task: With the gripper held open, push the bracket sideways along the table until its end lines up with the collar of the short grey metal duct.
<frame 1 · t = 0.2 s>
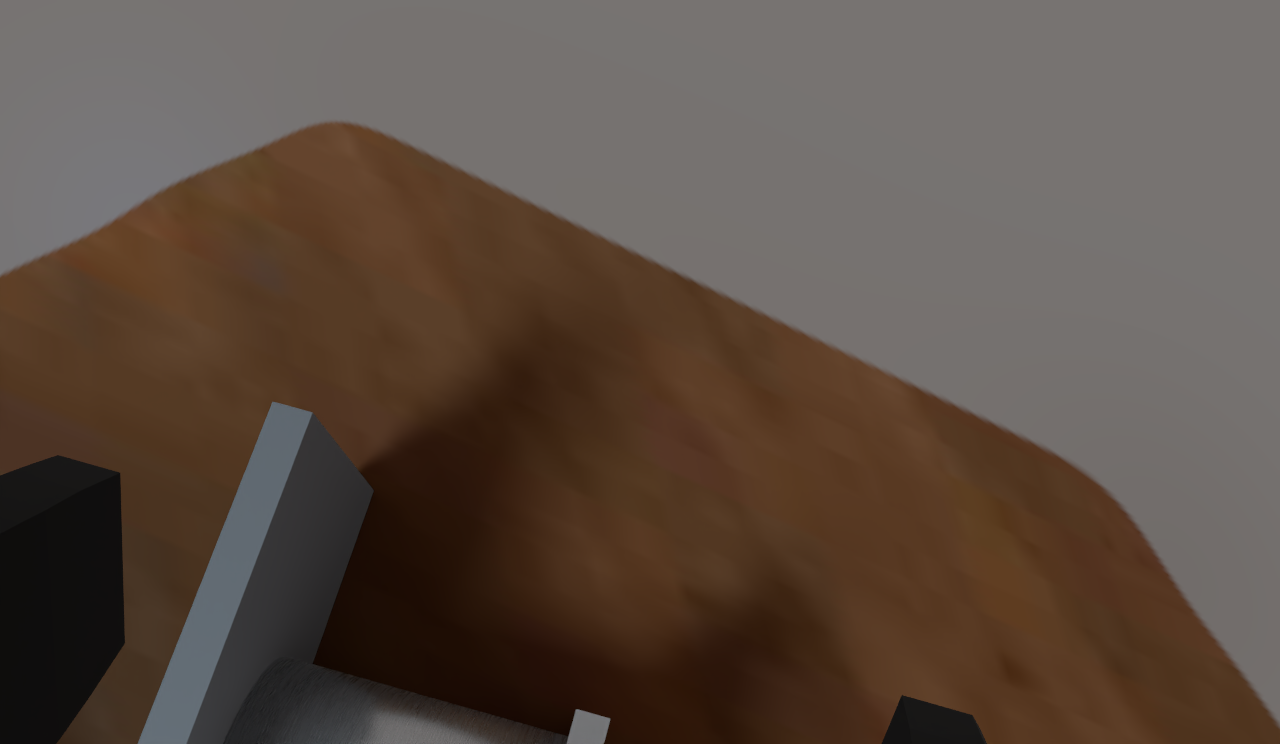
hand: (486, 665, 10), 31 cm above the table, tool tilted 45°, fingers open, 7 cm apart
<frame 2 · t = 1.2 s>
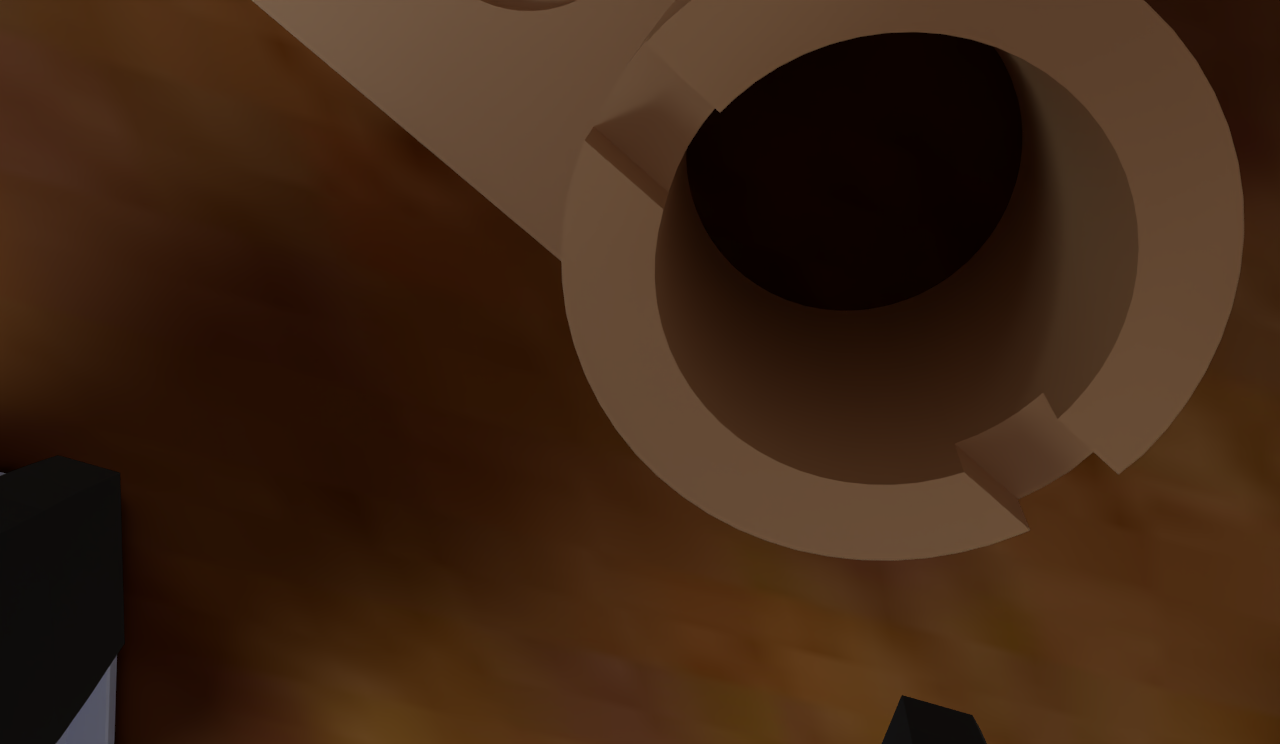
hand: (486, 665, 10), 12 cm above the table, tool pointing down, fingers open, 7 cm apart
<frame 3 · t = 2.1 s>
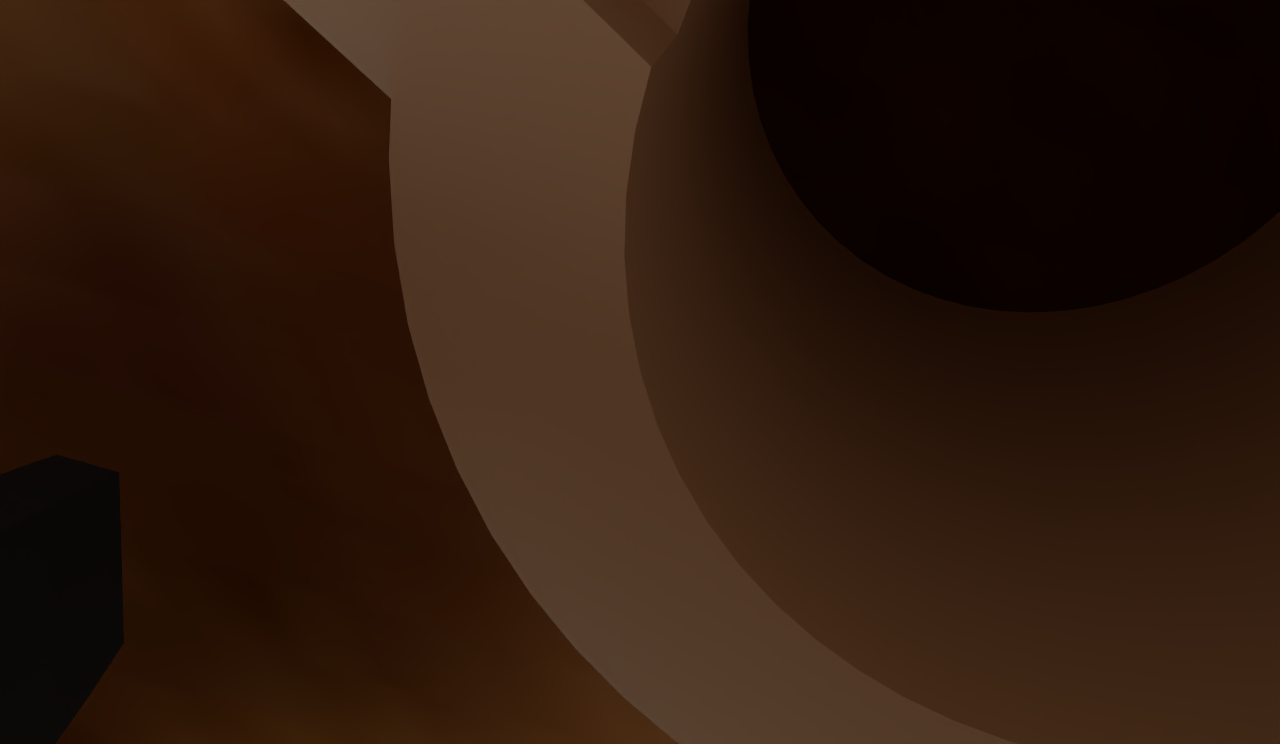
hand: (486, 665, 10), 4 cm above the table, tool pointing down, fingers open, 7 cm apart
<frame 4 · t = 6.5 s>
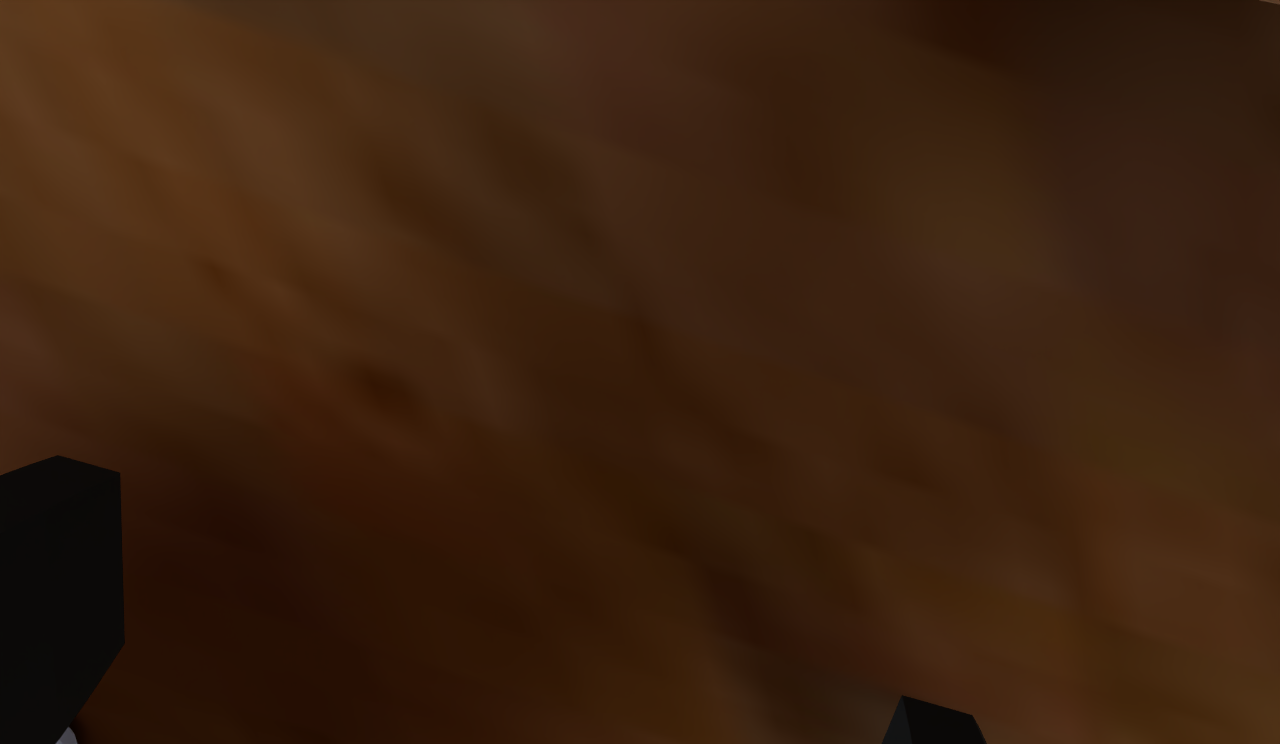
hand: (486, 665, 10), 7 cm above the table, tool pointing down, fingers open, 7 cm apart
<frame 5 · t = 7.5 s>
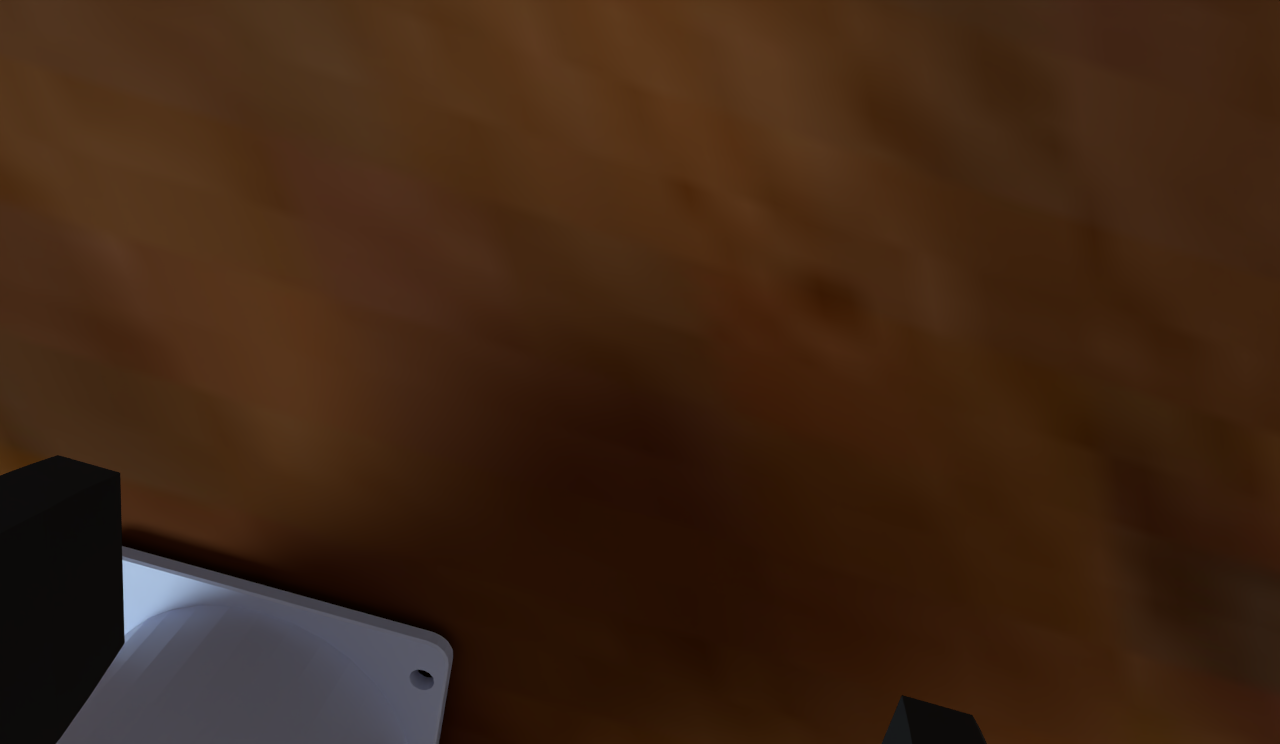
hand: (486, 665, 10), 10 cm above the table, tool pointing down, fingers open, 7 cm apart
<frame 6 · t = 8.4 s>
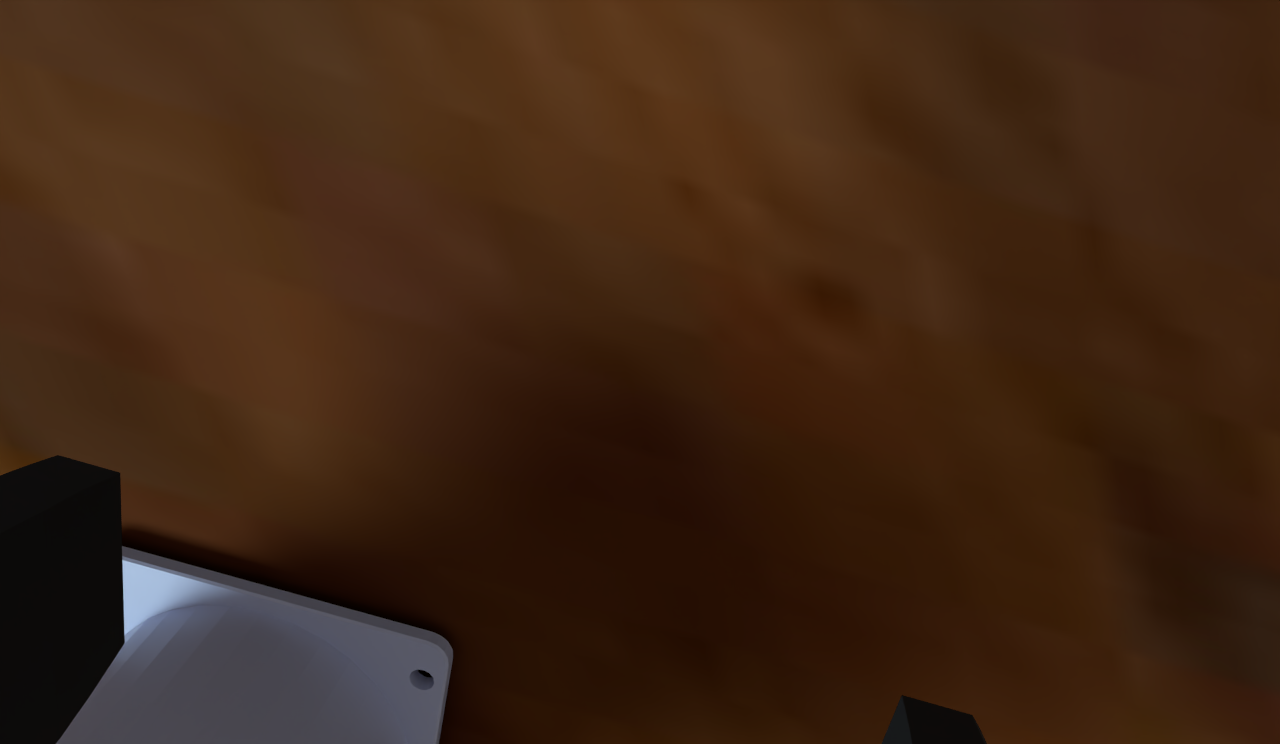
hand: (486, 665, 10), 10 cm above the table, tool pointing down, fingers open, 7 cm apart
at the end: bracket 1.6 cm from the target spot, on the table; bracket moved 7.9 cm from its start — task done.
